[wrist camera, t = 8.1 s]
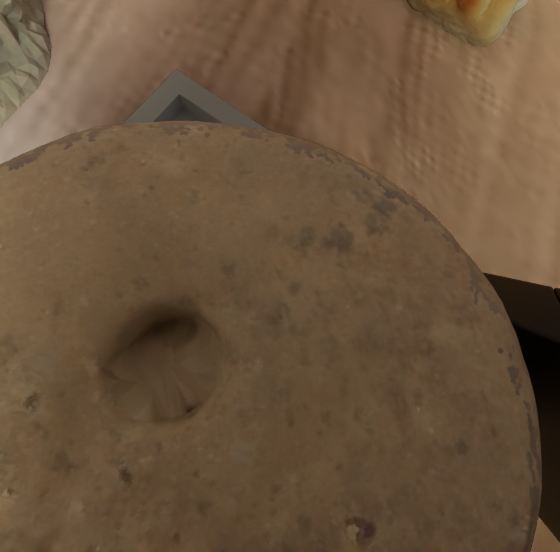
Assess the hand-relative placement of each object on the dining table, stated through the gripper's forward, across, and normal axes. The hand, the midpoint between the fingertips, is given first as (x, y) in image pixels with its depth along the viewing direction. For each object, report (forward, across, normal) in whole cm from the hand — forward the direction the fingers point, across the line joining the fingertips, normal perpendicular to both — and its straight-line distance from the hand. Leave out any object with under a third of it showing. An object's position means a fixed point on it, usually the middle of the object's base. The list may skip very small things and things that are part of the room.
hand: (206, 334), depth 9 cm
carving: (+4, 0, +6) cm, 7 cm away
